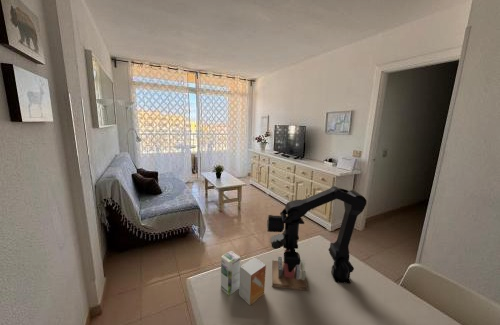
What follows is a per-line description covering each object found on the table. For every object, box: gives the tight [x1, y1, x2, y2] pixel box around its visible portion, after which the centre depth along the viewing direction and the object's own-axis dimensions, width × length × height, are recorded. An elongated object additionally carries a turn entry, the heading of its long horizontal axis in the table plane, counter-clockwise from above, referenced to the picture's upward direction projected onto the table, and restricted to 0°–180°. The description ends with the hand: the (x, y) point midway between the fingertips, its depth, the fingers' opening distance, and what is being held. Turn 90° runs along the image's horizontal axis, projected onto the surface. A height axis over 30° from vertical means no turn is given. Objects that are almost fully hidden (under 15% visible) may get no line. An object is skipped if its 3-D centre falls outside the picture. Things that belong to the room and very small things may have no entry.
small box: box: [238, 257, 267, 306], centre depth 78 cm, size 8×6×13 cm
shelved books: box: [295, 258, 306, 280], centre depth 88 cm, size 3×7×4 cm, turn 174°
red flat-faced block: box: [283, 249, 294, 278], centre depth 88 cm, size 4×6×9 cm, turn 174°
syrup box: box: [220, 250, 241, 297], centre depth 81 cm, size 6×6×14 cm
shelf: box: [271, 259, 308, 291], centre depth 89 cm, size 14×14×2 cm
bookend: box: [277, 256, 283, 279], centre depth 89 cm, size 2×8×4 cm, turn 174°
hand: (288, 264), depth 88 cm, fingers open, 9 cm apart
